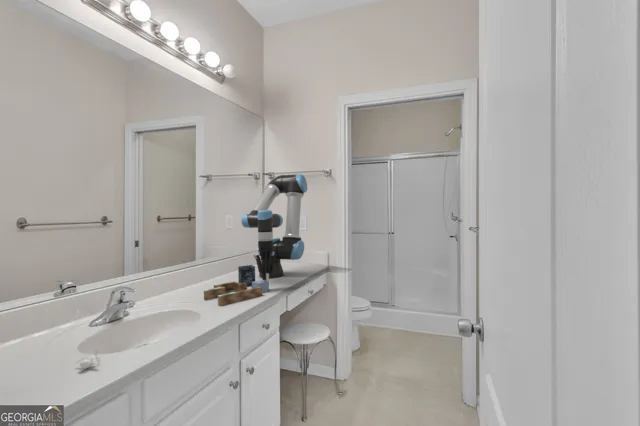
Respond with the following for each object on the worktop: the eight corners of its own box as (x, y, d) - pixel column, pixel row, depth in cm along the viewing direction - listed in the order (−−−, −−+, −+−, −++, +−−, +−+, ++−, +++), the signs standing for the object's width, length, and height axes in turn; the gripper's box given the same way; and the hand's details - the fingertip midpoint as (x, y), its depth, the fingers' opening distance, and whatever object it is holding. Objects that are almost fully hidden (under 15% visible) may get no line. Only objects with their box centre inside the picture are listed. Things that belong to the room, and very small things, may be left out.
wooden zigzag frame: (238, 288, 167) (237, 280, 167) (262, 295, 151) (262, 286, 151) (197, 296, 151) (197, 287, 151) (219, 306, 136) (219, 296, 136)
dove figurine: (67, 369, 81) (72, 349, 83) (83, 367, 86) (88, 348, 87) (92, 371, 80) (97, 351, 81) (107, 369, 84) (112, 350, 85)
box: (241, 287, 169) (241, 267, 169) (238, 285, 174) (237, 266, 174) (255, 285, 173) (255, 265, 173) (251, 283, 178) (251, 264, 178)
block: (261, 289, 163) (261, 279, 163) (268, 291, 159) (268, 281, 159) (252, 291, 159) (251, 281, 159) (258, 293, 155) (258, 283, 155)
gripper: (271, 238, 169) (272, 282, 169) (250, 240, 160) (251, 287, 160) (280, 239, 164) (280, 284, 164) (259, 241, 155) (260, 289, 155)
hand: (266, 285), depth 162 cm, fingers closed
